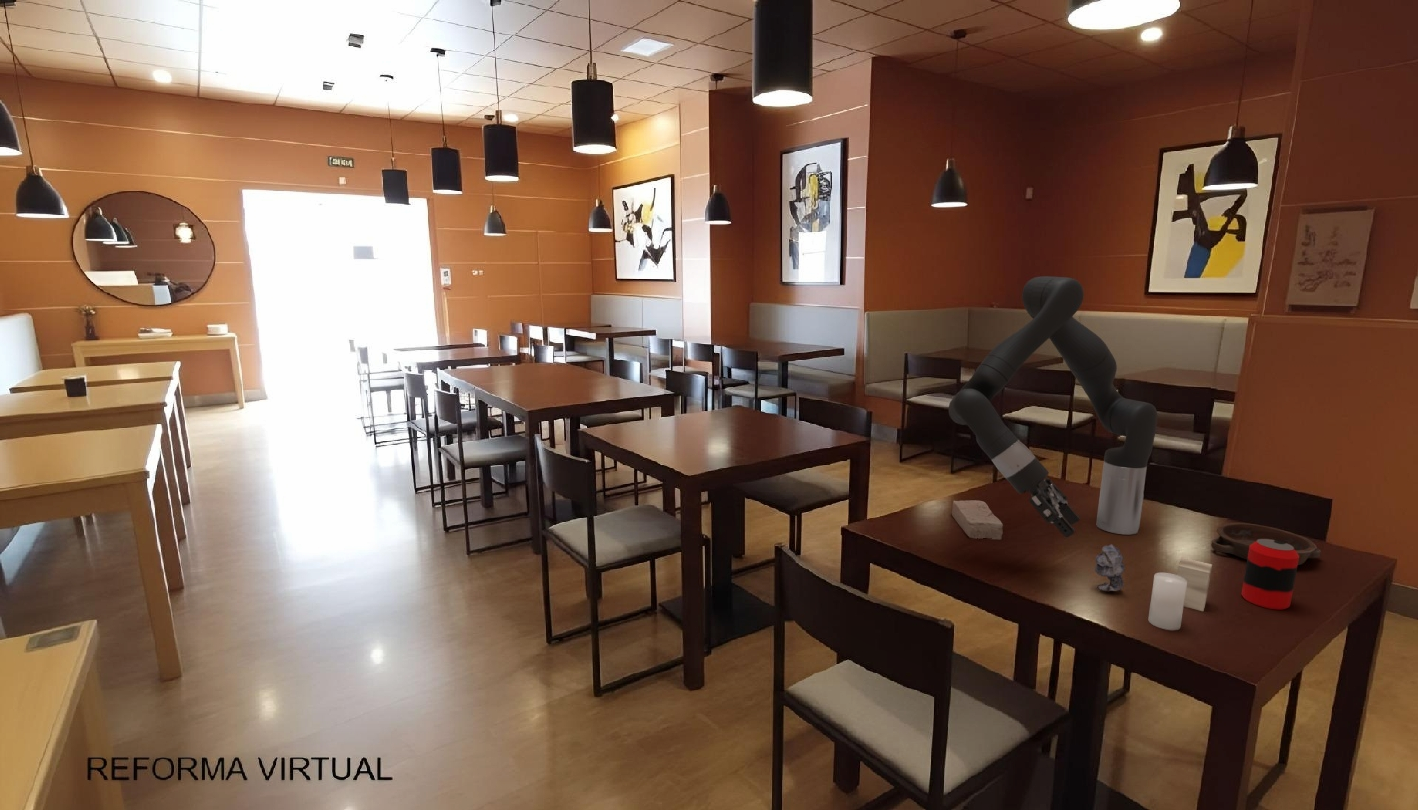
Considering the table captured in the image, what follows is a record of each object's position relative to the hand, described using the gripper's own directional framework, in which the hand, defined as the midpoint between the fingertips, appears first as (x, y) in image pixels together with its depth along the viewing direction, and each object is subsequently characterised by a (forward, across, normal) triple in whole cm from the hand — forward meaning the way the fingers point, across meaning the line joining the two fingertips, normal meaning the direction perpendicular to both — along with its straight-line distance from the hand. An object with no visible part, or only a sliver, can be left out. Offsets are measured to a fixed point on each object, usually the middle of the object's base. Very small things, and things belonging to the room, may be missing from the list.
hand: (1073, 528), depth 141 cm
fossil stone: (+14, 0, +3) cm, 14 cm away
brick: (-8, +22, +25) cm, 34 cm away
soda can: (+32, +12, -15) cm, 38 cm away
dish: (+34, +41, -17) cm, 55 cm away
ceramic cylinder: (+20, -9, -4) cm, 23 cm away
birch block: (+23, +3, -7) cm, 25 cm away
